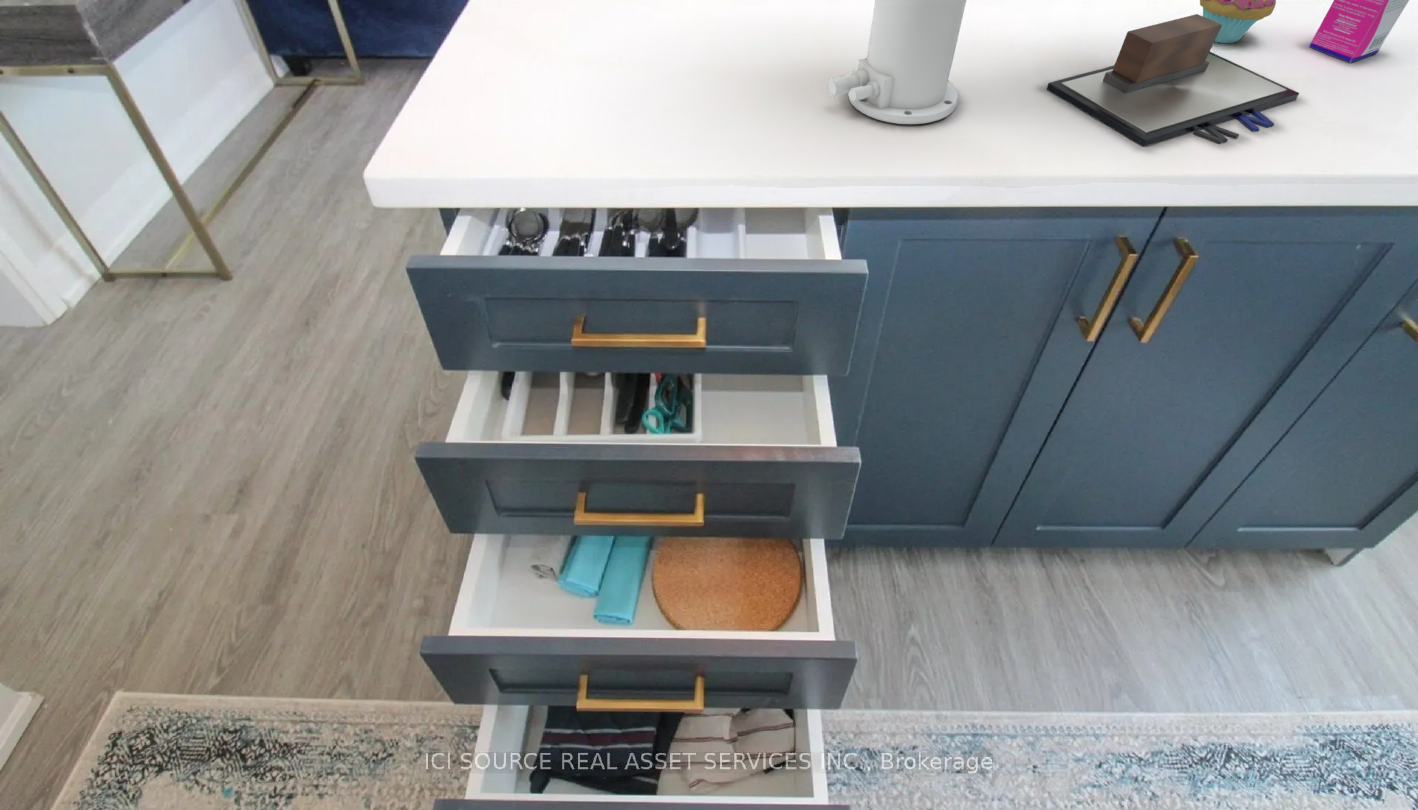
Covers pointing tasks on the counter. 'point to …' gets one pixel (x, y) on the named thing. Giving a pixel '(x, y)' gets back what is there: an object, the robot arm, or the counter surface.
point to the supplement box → (1356, 27)
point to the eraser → (1163, 52)
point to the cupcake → (1235, 16)
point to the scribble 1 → (1216, 134)
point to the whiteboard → (1173, 100)
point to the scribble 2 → (1255, 120)
